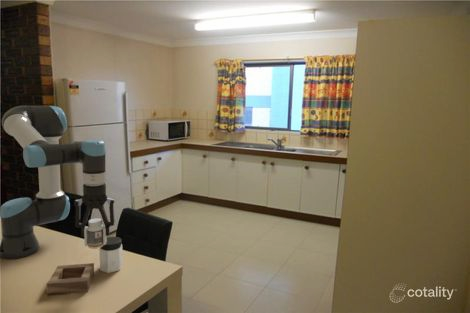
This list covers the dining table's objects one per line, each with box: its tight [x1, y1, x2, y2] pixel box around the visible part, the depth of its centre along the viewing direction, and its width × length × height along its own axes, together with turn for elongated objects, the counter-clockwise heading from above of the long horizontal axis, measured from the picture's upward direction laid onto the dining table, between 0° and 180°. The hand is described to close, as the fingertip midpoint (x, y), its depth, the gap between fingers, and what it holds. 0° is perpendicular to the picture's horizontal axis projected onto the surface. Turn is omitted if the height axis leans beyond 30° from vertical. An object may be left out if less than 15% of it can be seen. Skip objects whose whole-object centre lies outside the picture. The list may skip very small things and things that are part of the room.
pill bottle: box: [87, 217, 104, 250], centre depth 120 cm, size 6×6×10 cm
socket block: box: [46, 262, 95, 297], centre depth 121 cm, size 13×13×4 cm
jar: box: [98, 236, 124, 274], centre depth 133 cm, size 9×8×12 cm
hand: (95, 243), depth 120 cm, fingers closed on pill bottle, 6 cm apart
